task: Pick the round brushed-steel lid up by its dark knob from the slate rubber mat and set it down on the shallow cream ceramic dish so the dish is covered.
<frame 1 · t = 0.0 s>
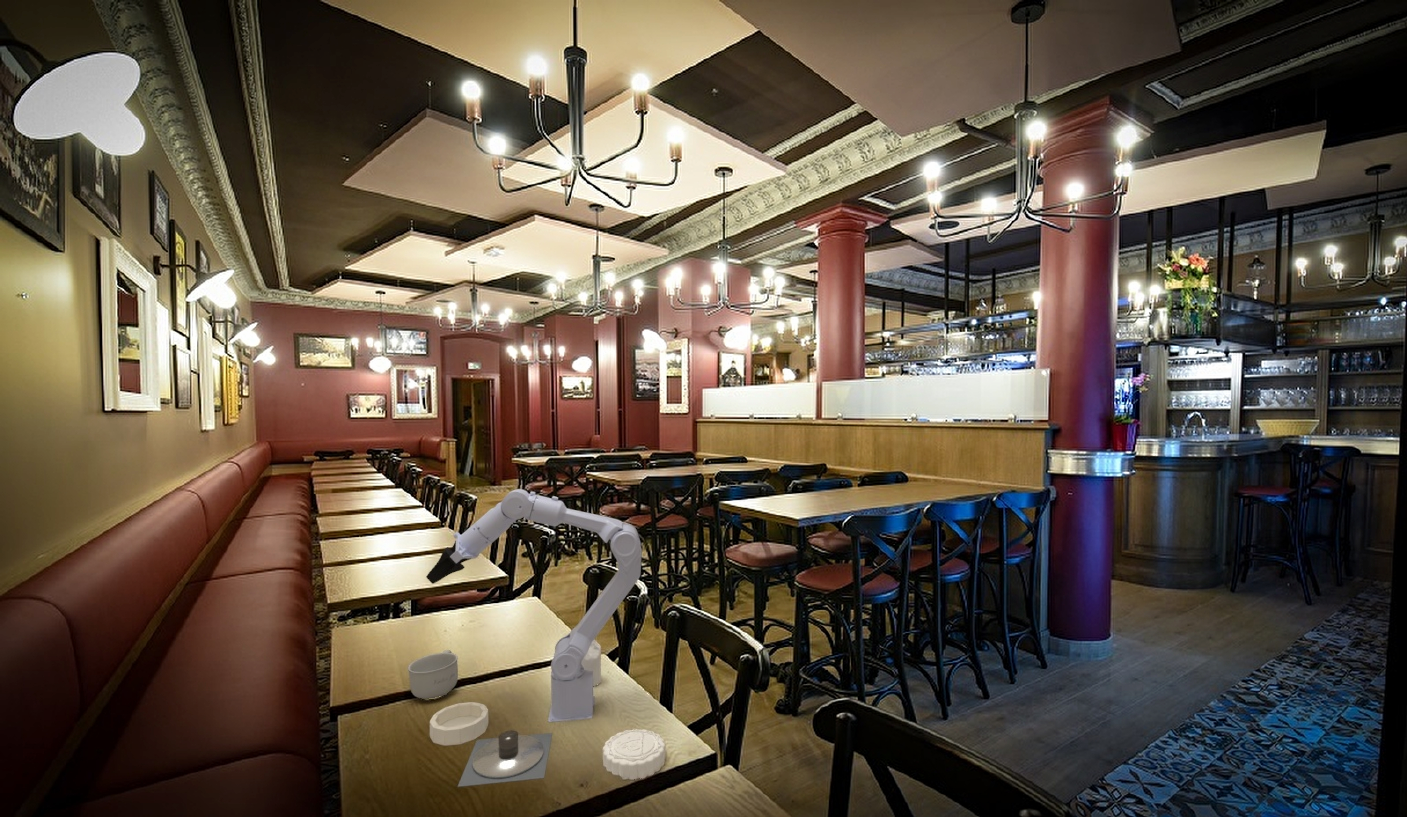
hand: (435, 575, 126), 32 cm above the table, tool tilted 50°, fingers open, 7 cm apart
steel lid: (508, 758, 113), resting on slate mat
slate mat: (508, 760, 113), on the table
teacup: (437, 692, 141), on the table
mooncake: (634, 762, 112), on the table
roll: (589, 683, 145), on the table
cream dish: (459, 732, 123), on the table
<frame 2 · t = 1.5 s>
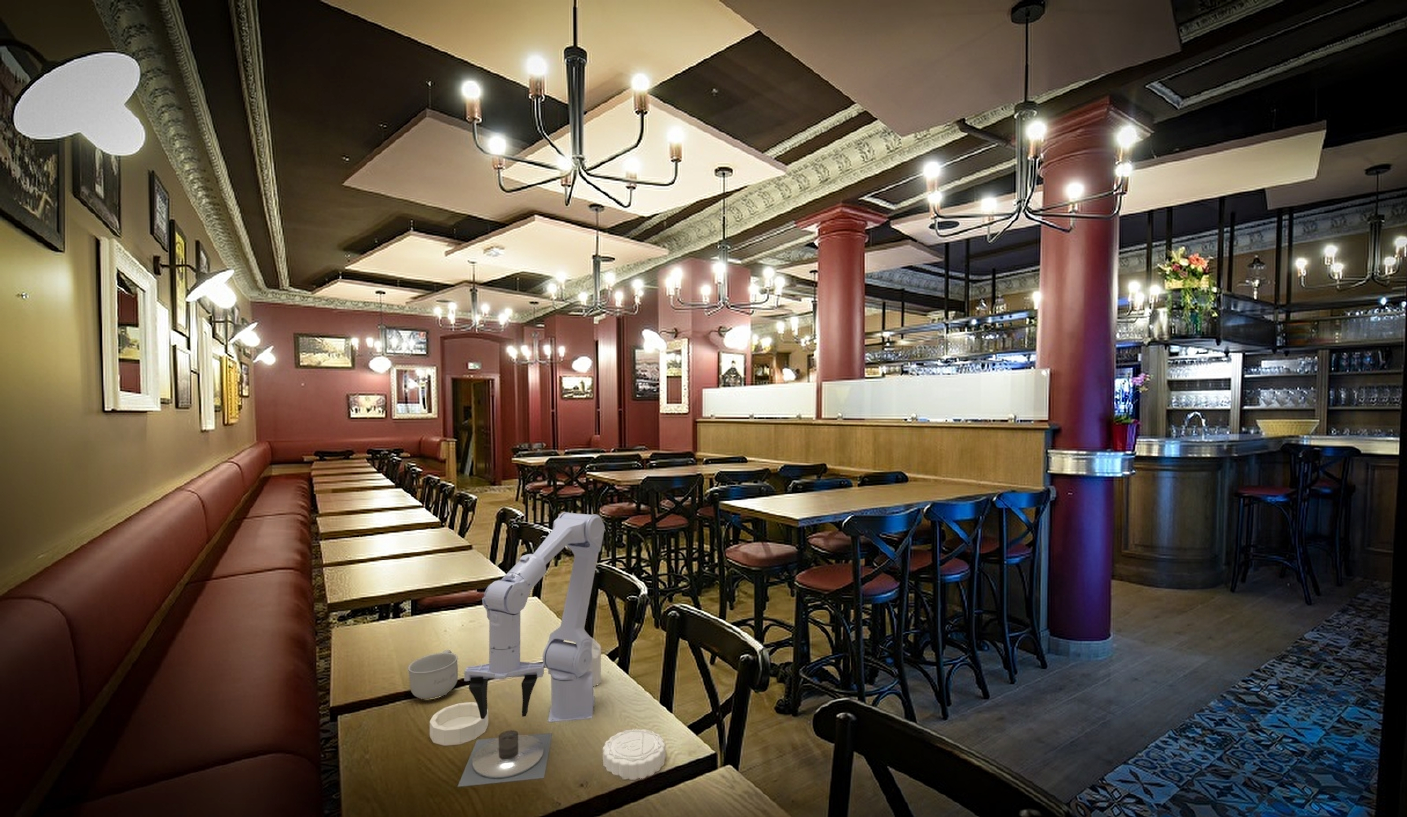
hand: (504, 715, 113), 9 cm above the table, tool pointing down, fingers open, 7 cm apart
nothing on the table moved.
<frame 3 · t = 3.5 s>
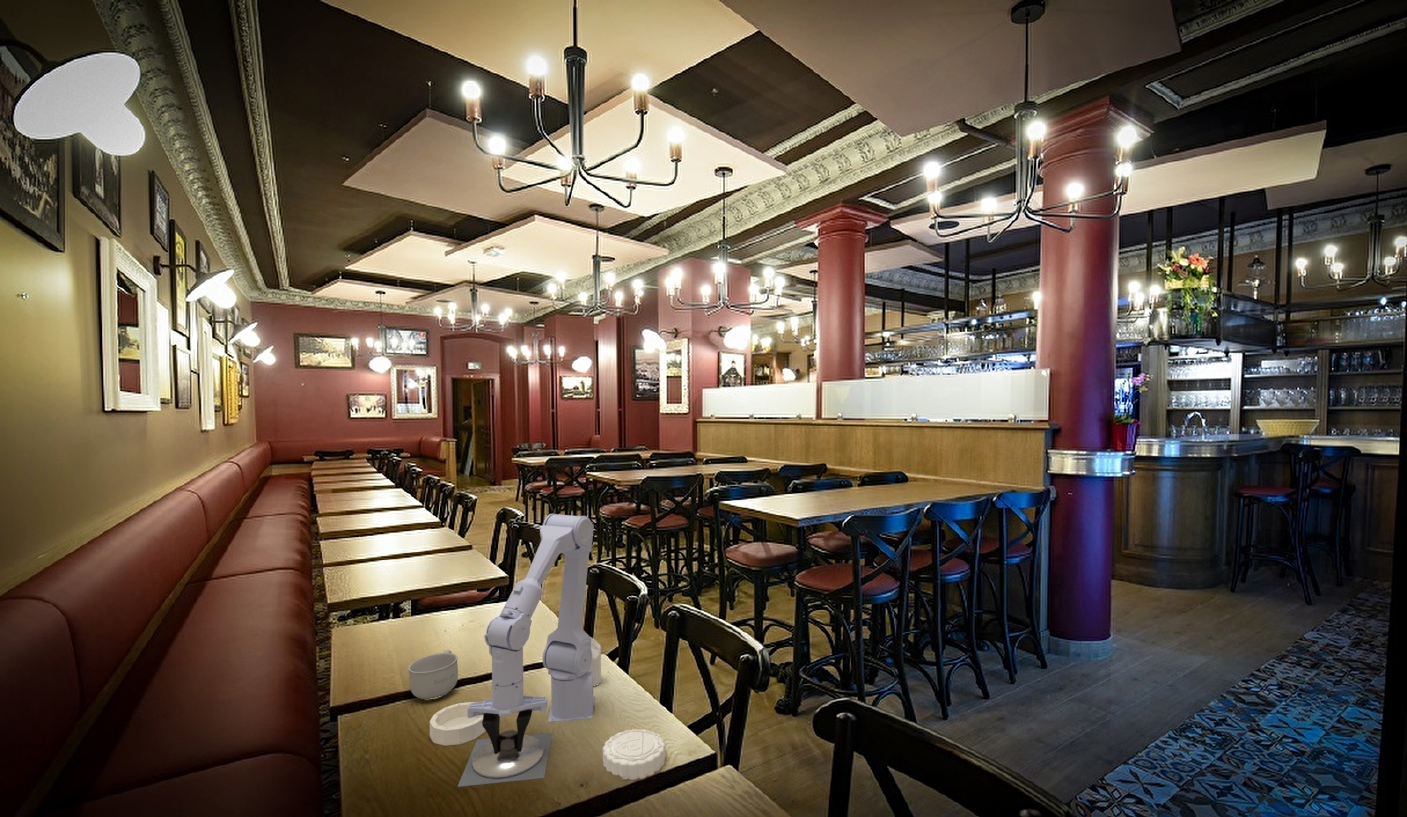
hand: (508, 750, 113), 2 cm above the table, tool pointing down, fingers closed on steel lid, 4 cm apart
steel lid: (508, 757, 113), resting on slate mat, touching gripper
everything else where it was.
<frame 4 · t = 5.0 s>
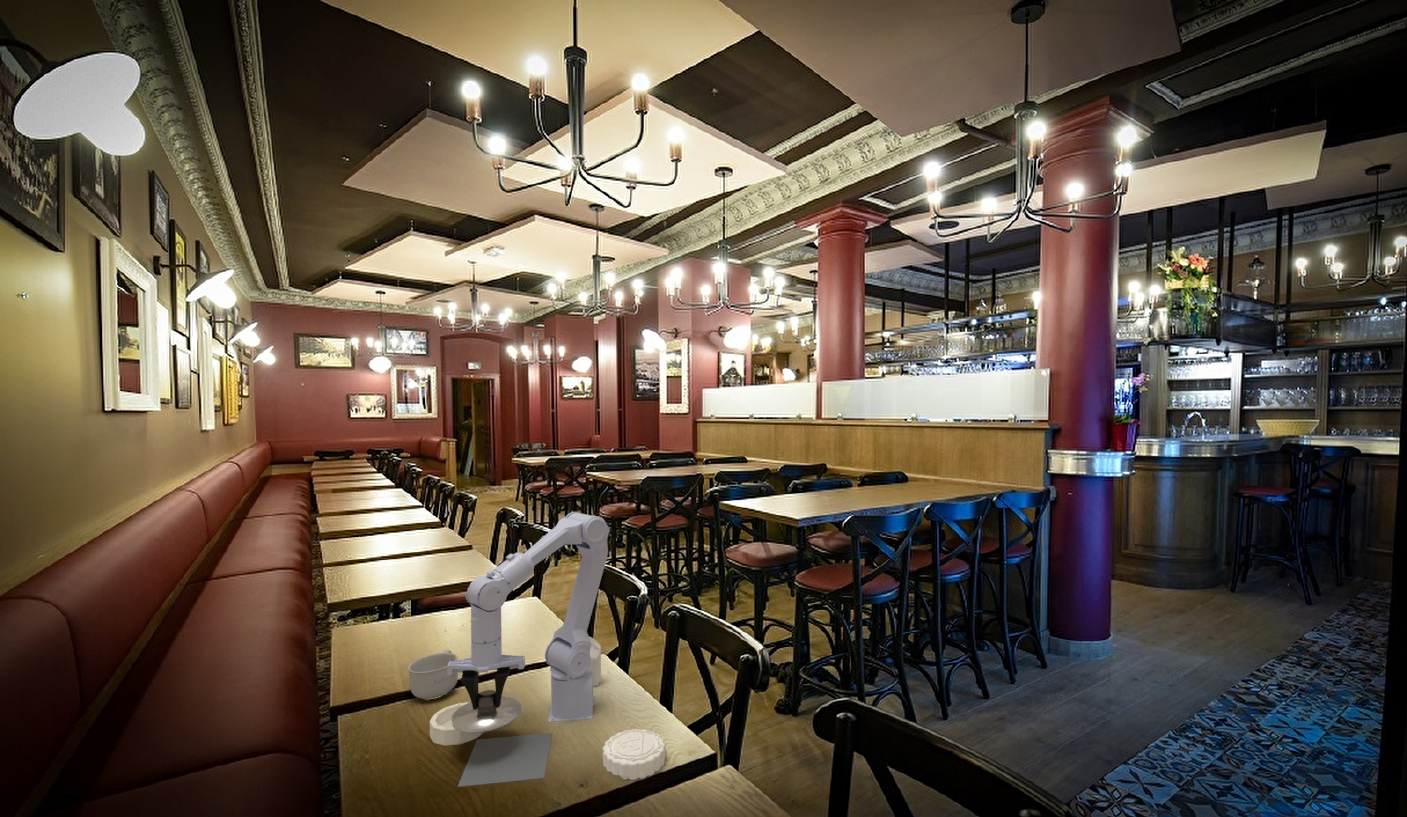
hand: (487, 706, 117), 8 cm above the table, tool pointing down, fingers closed on steel lid, 4 cm apart
steel lid: (487, 716, 117), point 7 cm above the table, touching gripper
everything else where it was.
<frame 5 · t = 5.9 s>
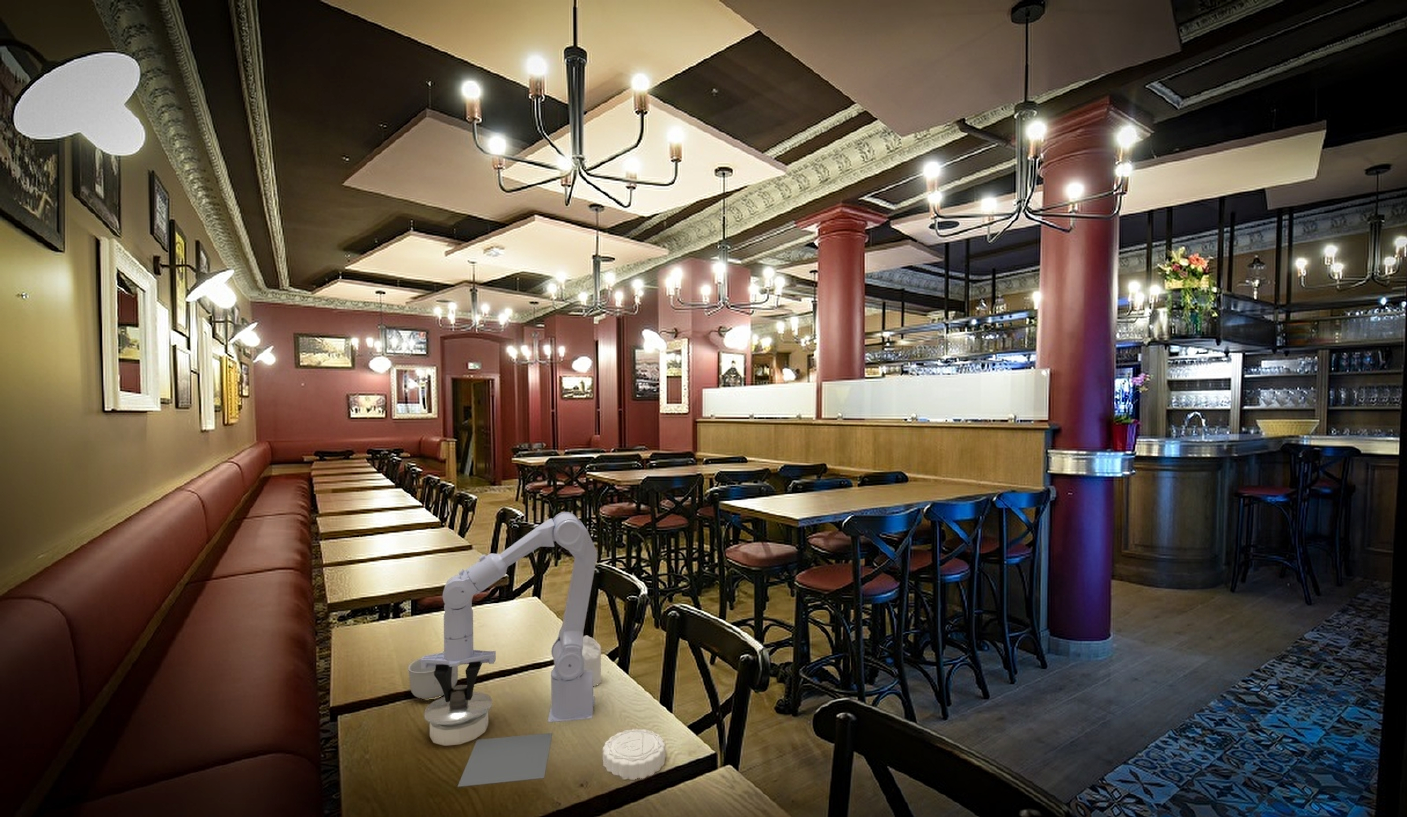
hand: (459, 699, 123), 7 cm above the table, tool pointing down, fingers closed on steel lid, 4 cm apart
steel lid: (458, 709, 122), point 5 cm above the table, touching gripper
everything else where it was.
when the fingers open (6 cm above the table, at t = 6.8 s): steel lid stays where it is, resting on cream dish.
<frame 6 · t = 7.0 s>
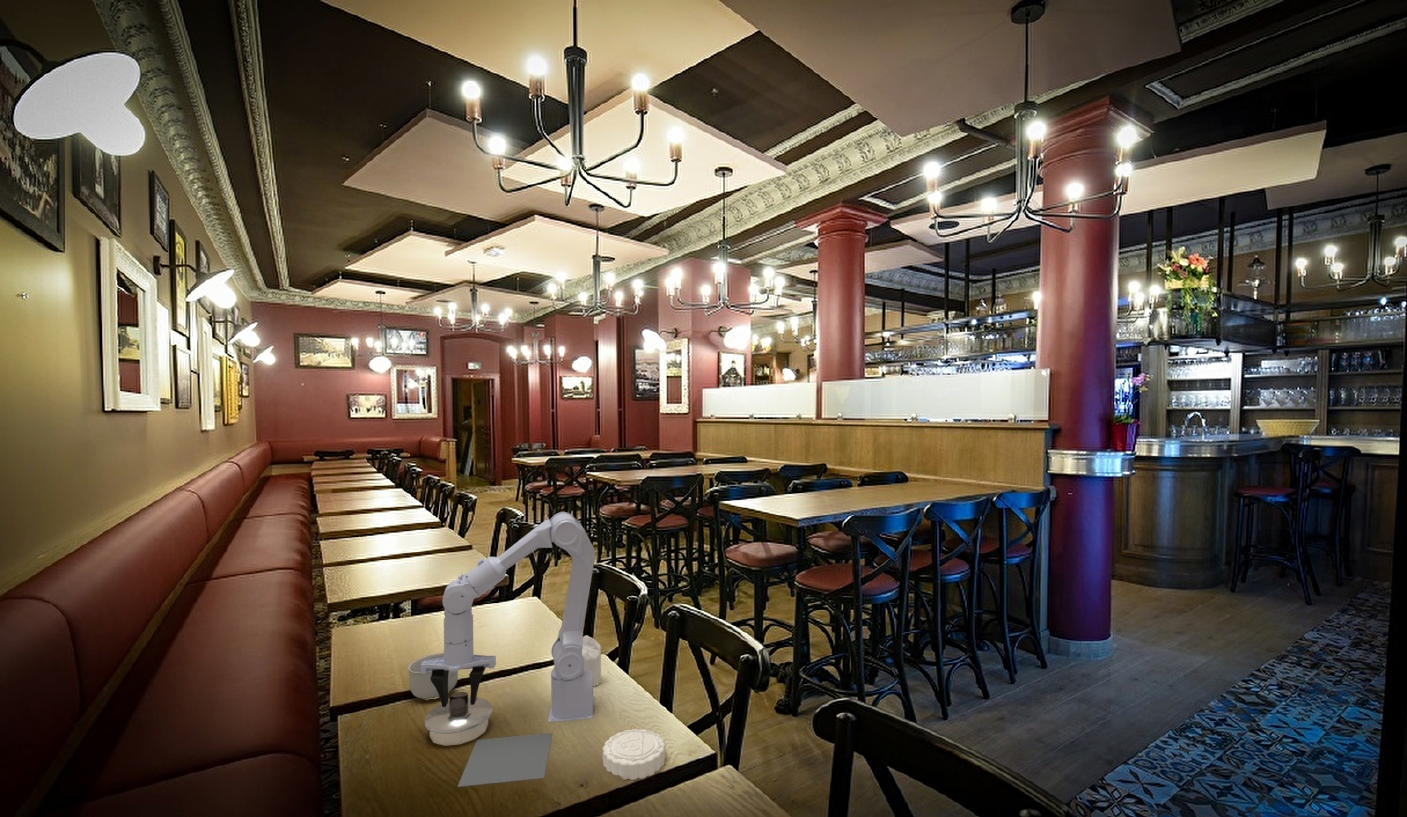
hand: (459, 703, 123), 6 cm above the table, tool pointing down, fingers open, 5 cm apart
steel lid: (459, 716, 122), point 3 cm above the table, touching cream dish
everything else where it was.
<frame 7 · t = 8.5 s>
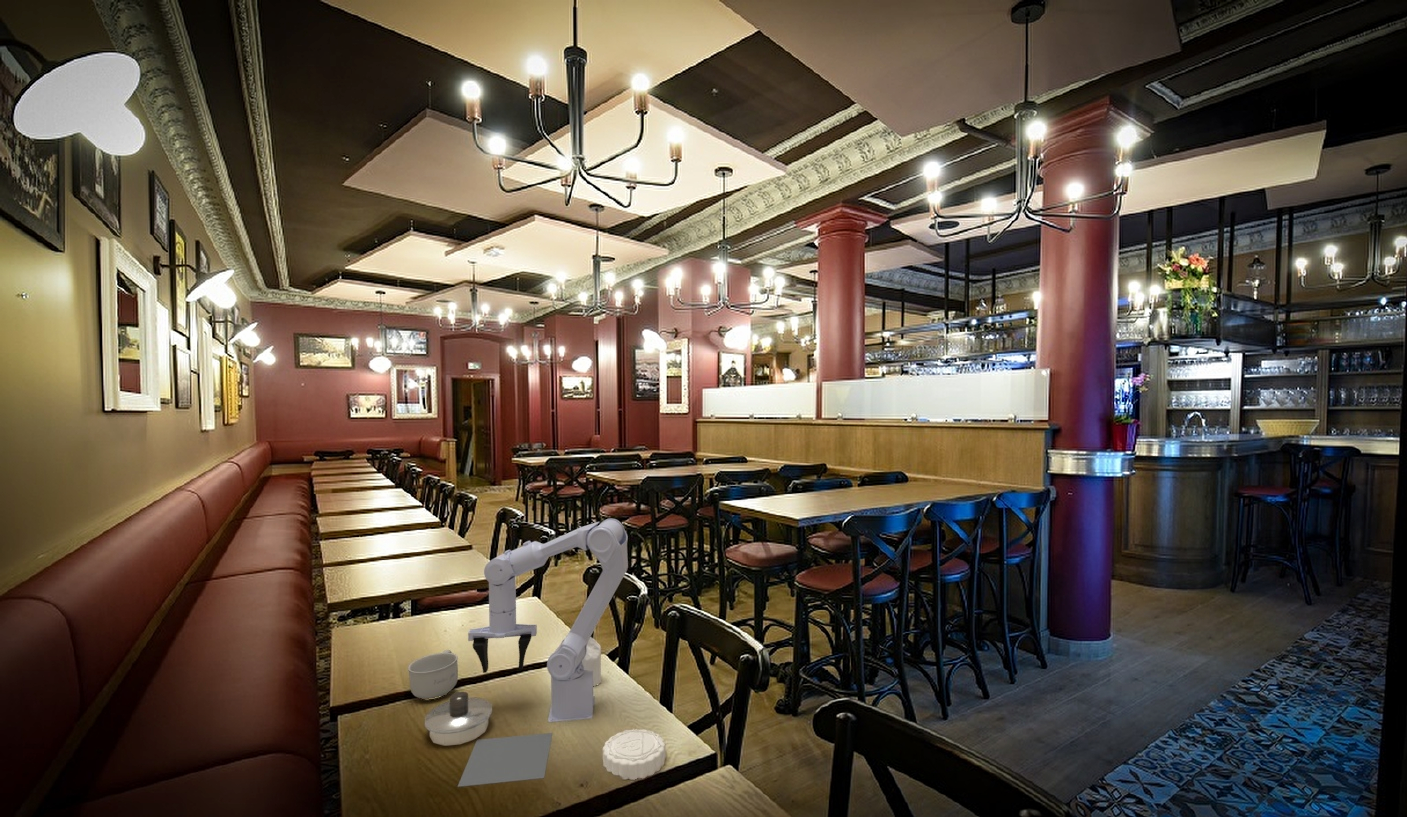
hand: (503, 669, 131), 9 cm above the table, tool pointing down, fingers open, 7 cm apart
nothing on the table moved.
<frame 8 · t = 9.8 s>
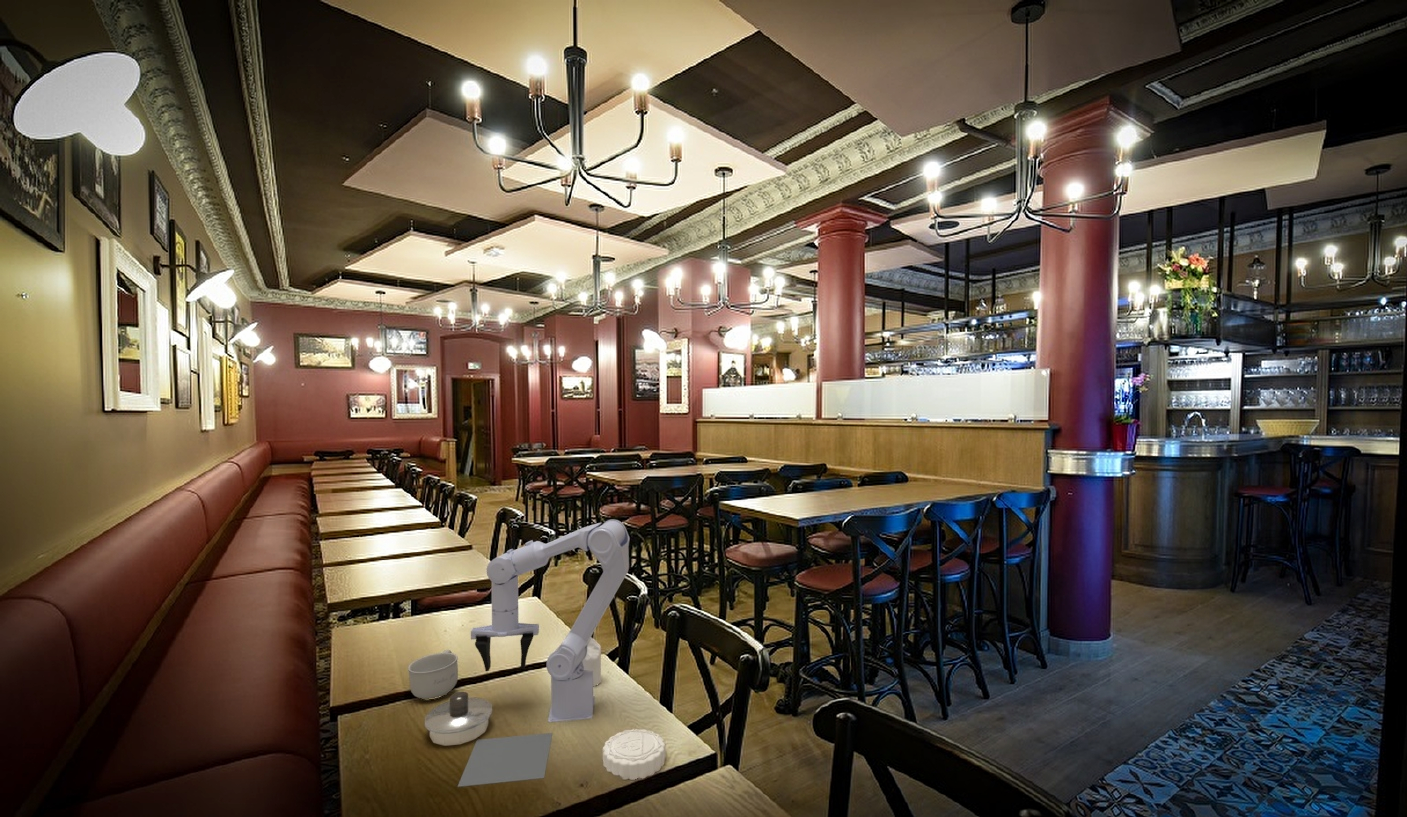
hand: (505, 668, 132), 9 cm above the table, tool pointing down, fingers open, 7 cm apart
nothing on the table moved.
at the end: steel lid 0.4 cm from the cream dish (horizontally); steel lid point 3.5 cm above the table; steel lid tilted 0° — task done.
